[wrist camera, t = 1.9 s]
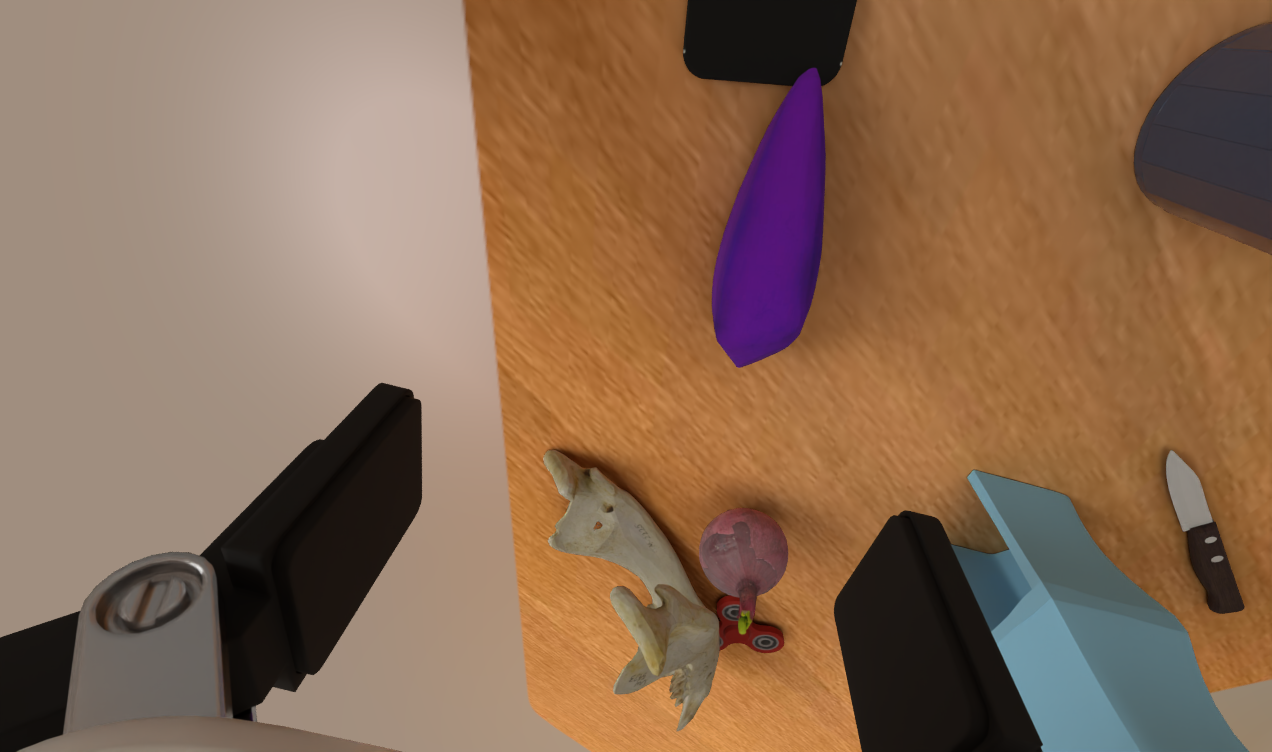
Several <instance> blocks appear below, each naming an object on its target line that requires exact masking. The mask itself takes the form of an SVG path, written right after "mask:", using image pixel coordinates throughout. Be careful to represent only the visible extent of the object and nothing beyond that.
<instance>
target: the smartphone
mask: <svg viewBox="0 0 1272 752" xmlns="http://www.w3.org/2000/svg"><path fill="white" fill-rule="evenodd" d="M856 2H857V0H688V6H687V16H686V27H685V37H684V48H683V57H684V61H685V64H686V66H687V68H688V70H689V71H690V72H691V73H692V74H693V75H695V76H697V77H699V78H703V79H714V80H726V81H738V82H750V83H763V84H775V85H787V86H793V85H794V83H795V82H796V80H797V79H798V77H799V76H801V75H802V74H803V73H804V72H806V71H807V70H808V69H811V68H817V71H818V74H819V77H820V81H821V86H823V85H825V84H827V83H829V82H830V81H831V80H832V79H833V78H834V77H835V76H836V75H837V73H838V72H839V70H840V68H841V65H842V62H843V57H844V53H845V49H846V45H847V40H848V36H849V32H850V28H851V23H852V19H853V15H854V11H855V6H856Z"/></svg>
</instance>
